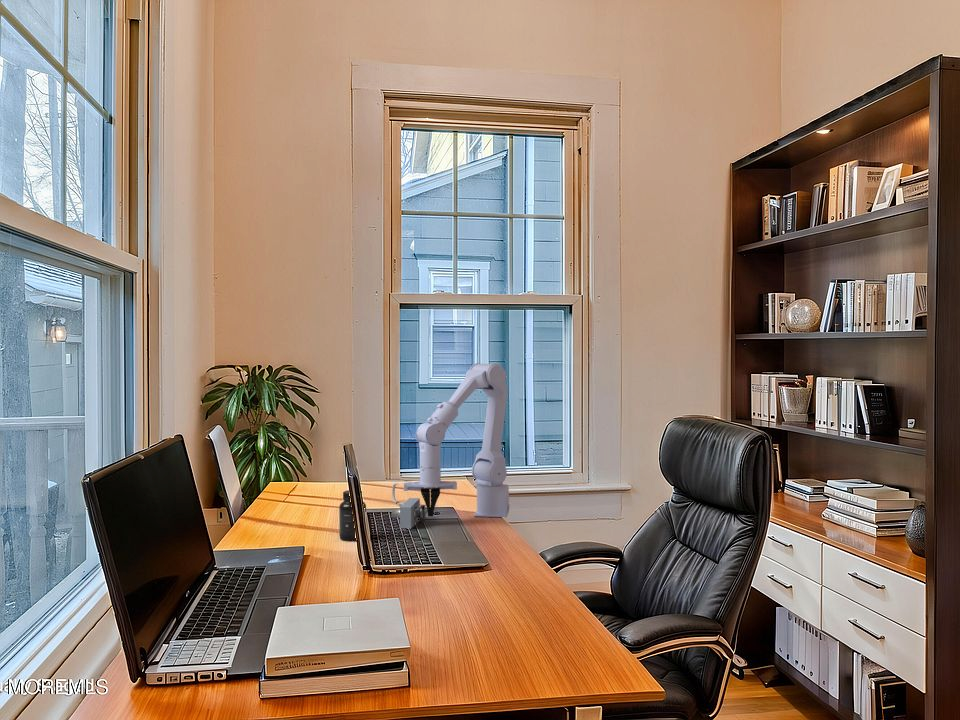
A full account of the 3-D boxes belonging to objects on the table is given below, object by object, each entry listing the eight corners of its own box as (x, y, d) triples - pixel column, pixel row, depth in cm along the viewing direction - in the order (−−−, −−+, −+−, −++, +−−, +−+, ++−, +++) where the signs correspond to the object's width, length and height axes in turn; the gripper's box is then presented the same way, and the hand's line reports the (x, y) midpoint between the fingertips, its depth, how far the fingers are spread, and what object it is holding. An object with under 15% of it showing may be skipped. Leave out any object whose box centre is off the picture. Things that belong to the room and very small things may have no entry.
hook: (406, 500, 234) (429, 522, 217) (378, 502, 230) (398, 526, 213) (407, 478, 233) (430, 498, 215) (379, 480, 229) (399, 502, 211)
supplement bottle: (333, 539, 187) (333, 492, 186) (350, 533, 193) (350, 488, 193) (355, 542, 184) (355, 495, 183) (371, 536, 190) (371, 490, 189)
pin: (426, 519, 204) (426, 503, 204) (422, 523, 200) (422, 507, 200) (394, 519, 205) (394, 502, 205) (390, 523, 201) (390, 506, 201)
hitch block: (419, 519, 208) (419, 498, 208) (410, 529, 196) (410, 507, 196) (409, 518, 209) (409, 497, 209) (399, 529, 197) (399, 507, 197)
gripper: (455, 463, 206) (455, 511, 207) (403, 464, 205) (403, 513, 205) (457, 467, 199) (457, 517, 200) (403, 469, 198) (404, 519, 198)
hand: (430, 515), depth 202 cm, fingers closed
